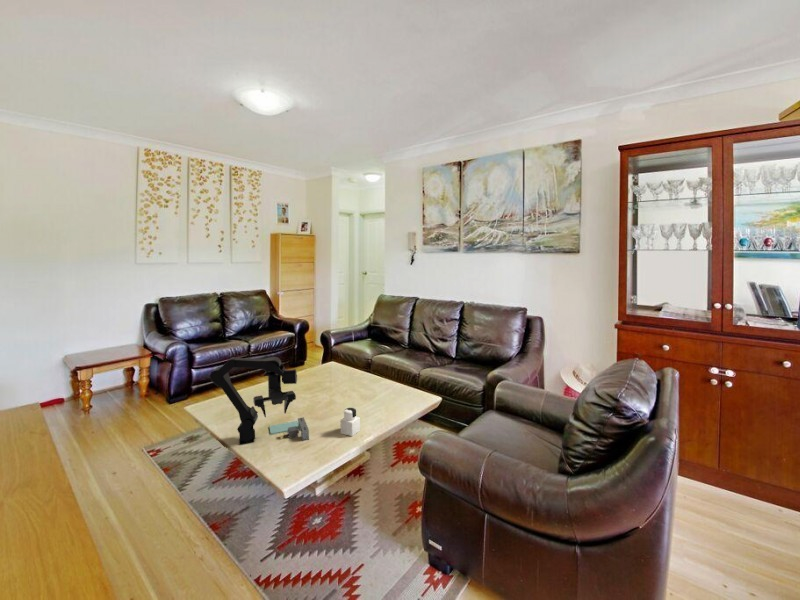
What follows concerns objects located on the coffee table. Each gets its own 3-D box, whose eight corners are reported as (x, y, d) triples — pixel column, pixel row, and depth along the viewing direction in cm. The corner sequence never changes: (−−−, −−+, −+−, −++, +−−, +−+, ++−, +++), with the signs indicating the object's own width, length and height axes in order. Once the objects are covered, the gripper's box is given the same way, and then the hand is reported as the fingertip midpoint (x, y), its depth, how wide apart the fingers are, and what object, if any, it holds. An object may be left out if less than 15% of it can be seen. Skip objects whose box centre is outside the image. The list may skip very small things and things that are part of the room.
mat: (270, 434, 182) (270, 433, 182) (269, 426, 190) (269, 425, 190) (299, 429, 187) (299, 428, 187) (296, 421, 195) (296, 420, 195)
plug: (280, 439, 176) (280, 433, 176) (279, 436, 180) (279, 429, 180) (299, 436, 180) (299, 429, 180) (298, 432, 184) (298, 426, 183)
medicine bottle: (348, 427, 189) (348, 405, 188) (360, 430, 186) (359, 408, 184) (340, 433, 183) (339, 410, 181) (352, 436, 180) (351, 413, 178)
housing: (302, 440, 176) (302, 430, 175) (298, 427, 189) (297, 417, 188) (309, 439, 177) (308, 429, 176) (303, 426, 190) (303, 416, 189)
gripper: (256, 392, 163) (257, 426, 165) (298, 386, 172) (298, 418, 174) (252, 384, 173) (253, 416, 175) (292, 379, 182) (293, 409, 184)
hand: (275, 415), depth 176 cm, fingers open, 9 cm apart
